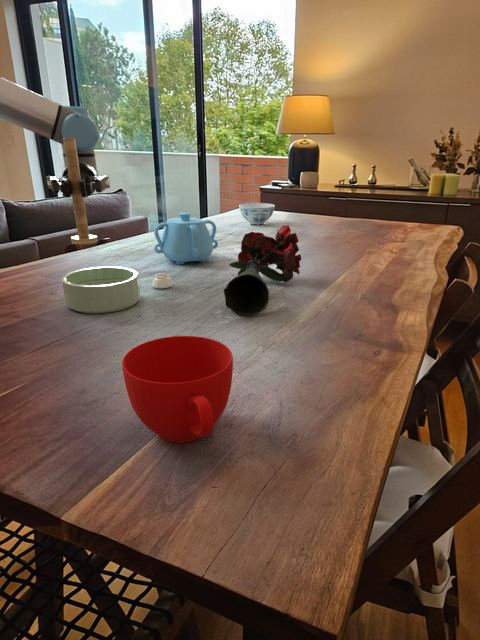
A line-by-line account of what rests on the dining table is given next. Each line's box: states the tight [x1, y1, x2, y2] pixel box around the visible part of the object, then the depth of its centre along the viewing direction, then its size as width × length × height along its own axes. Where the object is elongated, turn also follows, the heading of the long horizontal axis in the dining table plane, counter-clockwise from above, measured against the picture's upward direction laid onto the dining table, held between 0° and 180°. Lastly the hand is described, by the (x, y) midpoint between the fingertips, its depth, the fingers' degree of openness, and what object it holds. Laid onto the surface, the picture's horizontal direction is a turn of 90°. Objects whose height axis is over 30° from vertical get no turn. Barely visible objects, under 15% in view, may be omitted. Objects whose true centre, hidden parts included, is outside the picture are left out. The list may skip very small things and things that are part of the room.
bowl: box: [61, 266, 142, 314], centre depth 100 cm, size 16×16×6 cm
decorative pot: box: [153, 212, 219, 265], centre depth 134 cm, size 16×16×14 cm
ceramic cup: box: [121, 335, 234, 444], centre depth 55 cm, size 13×17×10 cm
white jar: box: [151, 272, 174, 290], centre depth 112 cm, size 5×3×5 cm
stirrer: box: [63, 138, 98, 245], centre depth 93 cm, size 5×5×20 cm
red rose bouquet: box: [223, 224, 302, 318], centre depth 107 cm, size 16×18×35 cm
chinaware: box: [238, 202, 276, 225], centre depth 194 cm, size 15×15×8 cm
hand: (74, 189), depth 87 cm, fingers closed on stirrer, 2 cm apart
